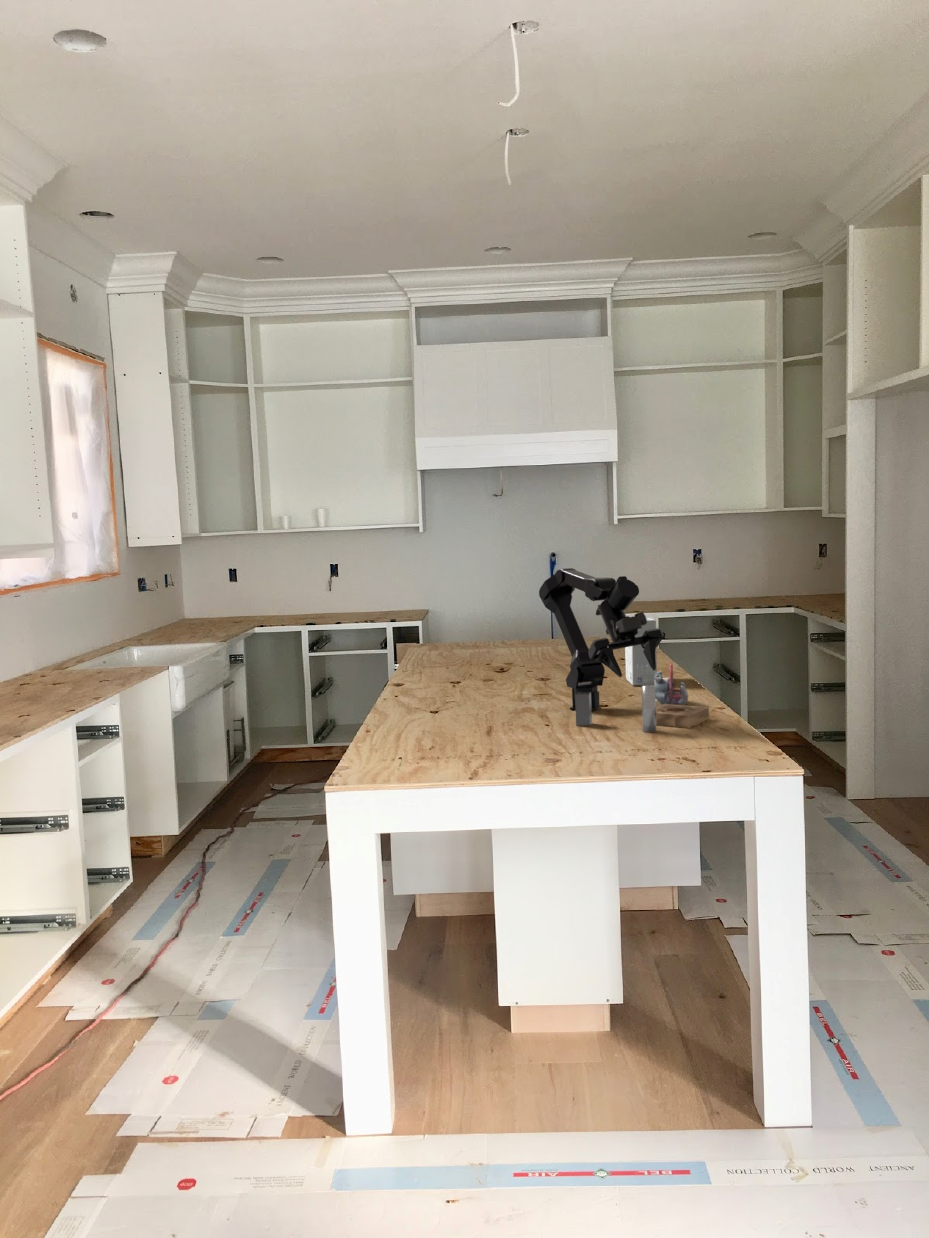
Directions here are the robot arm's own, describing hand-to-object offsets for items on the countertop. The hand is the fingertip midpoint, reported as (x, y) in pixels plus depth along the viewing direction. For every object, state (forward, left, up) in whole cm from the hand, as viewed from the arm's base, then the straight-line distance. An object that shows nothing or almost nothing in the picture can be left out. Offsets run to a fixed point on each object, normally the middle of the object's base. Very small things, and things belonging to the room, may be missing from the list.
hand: (638, 672), depth 244 cm
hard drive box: (-29, +58, -13) cm, 66 cm away
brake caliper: (-5, +29, -13) cm, 32 cm away
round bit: (+5, -5, -13) cm, 15 cm away
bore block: (+6, +8, -13) cm, 16 cm away
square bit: (-13, -5, -13) cm, 19 cm away
